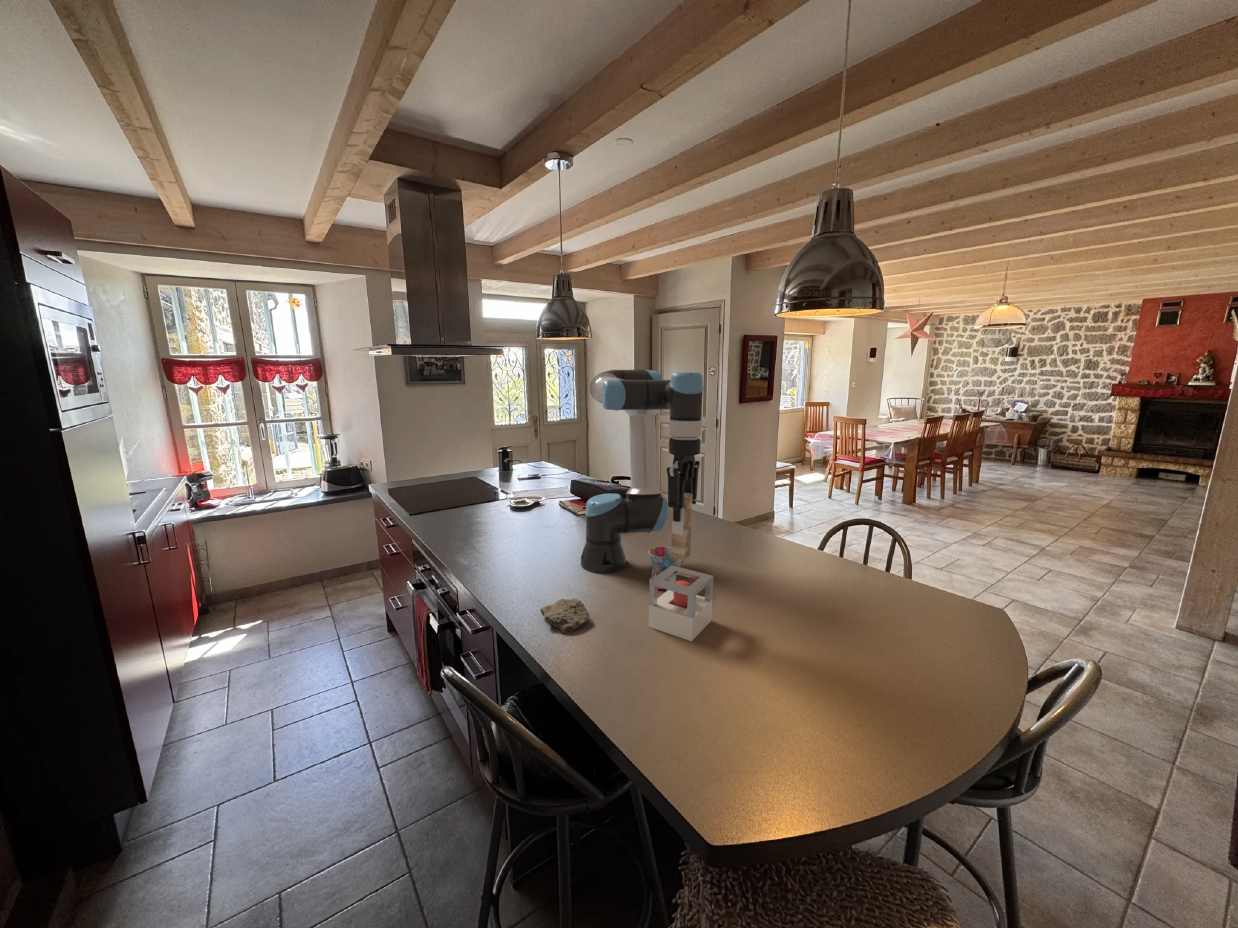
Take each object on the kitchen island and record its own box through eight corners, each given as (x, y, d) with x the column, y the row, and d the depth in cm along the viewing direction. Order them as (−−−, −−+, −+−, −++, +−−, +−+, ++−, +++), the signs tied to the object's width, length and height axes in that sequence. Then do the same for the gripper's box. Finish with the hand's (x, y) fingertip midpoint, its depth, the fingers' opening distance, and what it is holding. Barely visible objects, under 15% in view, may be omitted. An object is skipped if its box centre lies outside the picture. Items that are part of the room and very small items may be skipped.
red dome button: (677, 605, 129) (678, 579, 127) (691, 610, 127) (692, 582, 125) (670, 612, 125) (671, 584, 124) (684, 616, 123) (685, 588, 122)
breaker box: (670, 608, 135) (671, 587, 134) (711, 620, 128) (712, 599, 127) (648, 626, 125) (649, 604, 124) (691, 641, 119) (692, 618, 117)
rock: (551, 638, 120) (550, 621, 119) (538, 616, 130) (538, 601, 129) (593, 628, 124) (593, 612, 124) (577, 607, 135) (577, 593, 134)
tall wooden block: (677, 552, 126) (679, 491, 123) (690, 555, 124) (692, 493, 121) (671, 556, 123) (673, 494, 120) (683, 559, 121) (686, 496, 118)
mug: (657, 594, 143) (658, 559, 141) (642, 582, 151) (642, 549, 149) (691, 586, 148) (693, 553, 146) (674, 575, 157) (675, 543, 154)
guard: (671, 587, 134) (671, 565, 132) (712, 599, 127) (713, 575, 126) (649, 604, 124) (649, 580, 123) (692, 618, 117) (693, 593, 116)
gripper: (686, 433, 127) (683, 520, 131) (653, 440, 113) (651, 537, 117) (713, 435, 122) (709, 525, 127) (683, 442, 109) (680, 543, 113)
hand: (681, 531), depth 122 cm, fingers closed on tall wooden block, 3 cm apart
